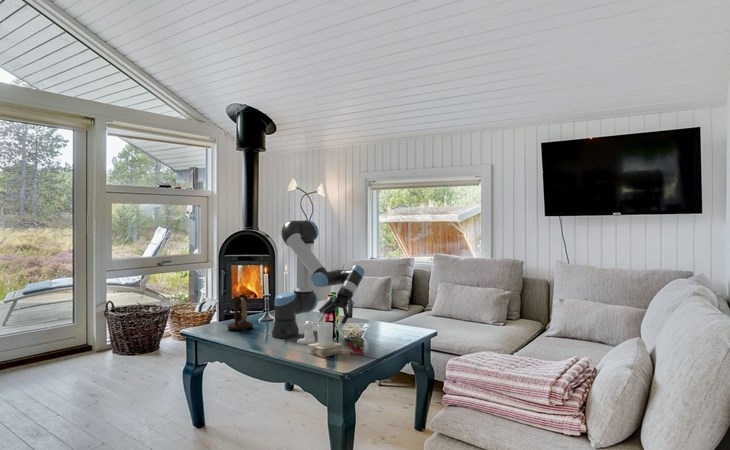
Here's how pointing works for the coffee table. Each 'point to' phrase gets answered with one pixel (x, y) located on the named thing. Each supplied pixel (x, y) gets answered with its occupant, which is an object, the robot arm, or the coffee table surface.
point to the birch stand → (324, 349)
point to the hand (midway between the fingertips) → (327, 326)
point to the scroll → (240, 314)
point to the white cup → (325, 333)
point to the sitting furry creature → (307, 334)
